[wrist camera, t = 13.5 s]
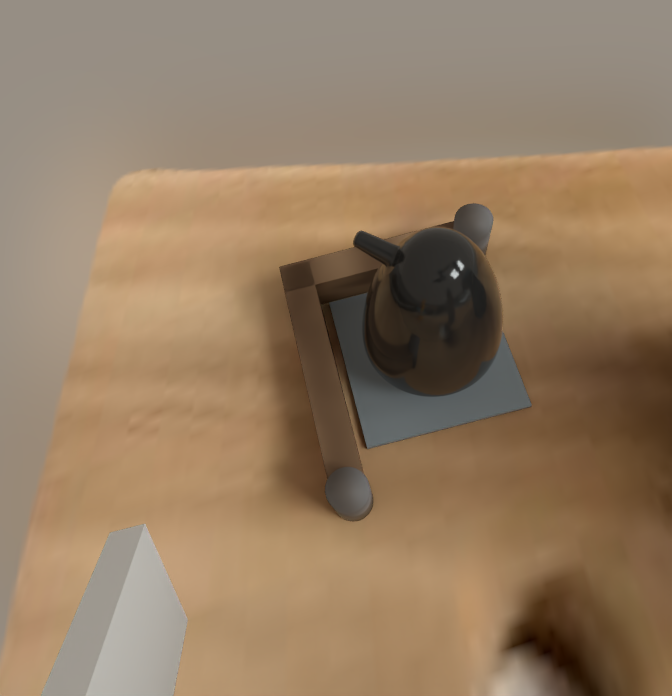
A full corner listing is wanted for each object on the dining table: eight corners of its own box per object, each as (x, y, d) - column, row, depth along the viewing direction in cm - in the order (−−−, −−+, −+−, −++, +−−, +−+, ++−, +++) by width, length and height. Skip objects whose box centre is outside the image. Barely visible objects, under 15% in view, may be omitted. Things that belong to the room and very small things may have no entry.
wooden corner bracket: (478, 234, 52) (485, 199, 47) (571, 465, 43) (591, 449, 39) (283, 285, 52) (272, 255, 47) (338, 525, 43) (330, 517, 39)
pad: (475, 266, 50) (476, 264, 50) (530, 406, 45) (531, 405, 45) (329, 304, 51) (329, 302, 50) (367, 449, 45) (367, 447, 45)
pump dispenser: (388, 280, 50) (382, 159, 36) (508, 315, 48) (550, 200, 34) (344, 386, 47) (319, 297, 33) (471, 430, 45) (501, 354, 31)
